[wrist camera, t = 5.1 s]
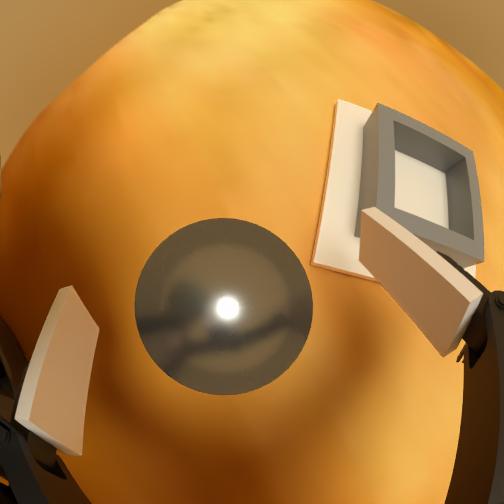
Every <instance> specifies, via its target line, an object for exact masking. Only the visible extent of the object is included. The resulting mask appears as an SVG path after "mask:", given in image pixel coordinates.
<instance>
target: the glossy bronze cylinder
mask: <svg viewBox="0 0 504 504" xmlns="http://www.w3.org/2000/svg"><path fill="white" fill-rule="evenodd" d="M312 315H313V301H312V292H311V288H310V284H309V280H308V278H307V275H306V272H305V270H304V268H303V266H302V264H301V262H300V261H299V259H298V258H297V256H296V255H295V254H294V252H293V251H292V250H291V249H290V248H289V247H288V246H287V244H286V243H285V242H283V241H282V240H281V239H280V238H279V237H277V236H276V235H275V234H273V233H271V232H270V231H268V230H267V229H265V228H263V227H260V226H258V225H256V224H253V223H250V222H247V221H243V220H238V219H229V218H218V219H208V220H203V221H199V222H196V223H193V224H190V225H188V226H186V227H184V228H182V229H180V230H178V231H176V232H175V233H173V234H172V235H170V236H169V237H168V238H167V239H165V240H164V241H163V242H162V243H161V244H160V245H159V246H158V247H157V248H156V249H155V251H154V252H153V253H152V255H151V256H150V257H149V259H148V260H147V262H146V264H145V266H144V268H143V270H142V272H141V275H140V278H139V281H138V284H137V289H136V295H135V317H136V323H137V328H138V331H139V334H140V337H141V340H142V342H143V344H144V346H145V348H146V350H147V352H148V353H149V355H150V356H151V358H152V359H153V360H154V362H155V363H156V364H157V365H158V366H159V367H160V368H161V369H162V370H163V371H164V372H165V373H166V374H167V375H168V376H170V377H171V378H173V379H174V380H175V381H177V382H179V383H180V384H182V385H184V386H186V387H188V388H191V389H194V390H196V391H199V392H203V393H208V394H215V395H236V394H241V393H246V392H249V391H252V390H255V389H258V388H260V387H263V386H265V385H267V384H269V383H270V382H272V381H273V380H275V379H276V378H278V377H279V376H280V375H281V374H282V373H284V372H285V371H286V370H287V369H288V368H289V367H290V366H291V364H292V363H293V362H294V361H295V360H296V358H297V357H298V355H299V354H300V352H301V350H302V349H303V347H304V344H305V342H306V340H307V337H308V334H309V331H310V328H311V322H312Z"/></svg>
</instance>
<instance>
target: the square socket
mask: <svg viewBox="0 0 504 504" xmlns="http://www.w3.org/2000/svg"><path fill="white" fill-rule="evenodd" d="M372 207H376V208H377V209H379V210H380V211H381V212H383V213H384V214H386V215H387V216H389V217H390V218H391V219H393V220H394V221H396V222H397V223H398V224H400V225H401V226H403V227H404V228H405V229H407V230H408V231H409V232H411V233H412V234H413V235H415V236H416V237H417V238H418V239H420V240H421V241H422V242H424V243H425V244H426V245H428V246H429V247H430V248H431V249H433V250H434V251H435V252H436V251H439V252H441V253H443V254H445V255H447V256H449V257H450V258H452V259H453V260H454V261H455V262H456V263H458V265H460V266H461V267H462V268H464V270H465V271H467V272H468V273H469V274H471V275H472V276H473V277H474V278H475V271H476V264H479V263H482V262H484V232H483V217H482V207H481V198H480V190H479V183H478V176H477V171H476V165H475V160H474V155H473V151H471V150H469V149H468V148H466V147H465V146H463V145H461V144H460V143H458V142H456V141H455V140H453V139H451V138H449V137H448V136H446V135H444V134H442V133H441V132H439V131H437V130H435V129H433V128H431V127H429V126H427V125H425V124H423V123H421V122H419V121H417V120H415V119H413V118H411V117H409V116H407V115H405V114H403V113H400V112H398V111H396V110H394V109H391V108H389V107H387V106H384V105H382V104H379V103H377V105H376V107H375V108H374V110H373V111H371V110H368V109H366V108H363V107H360V106H358V105H355V104H352V103H349V102H346V101H343V100H340V99H338V100H337V103H336V105H335V114H334V123H333V131H332V139H331V146H330V154H329V161H328V168H327V174H326V181H325V187H324V193H323V199H322V205H321V211H320V217H319V223H318V228H317V233H316V239H315V244H314V249H313V254H312V259H311V264H310V265H313V266H317V267H321V268H325V269H329V270H332V271H336V272H340V273H344V274H348V275H352V276H356V277H359V278H363V279H367V280H371V281H375V282H378V281H377V280H376V279H375V278H374V276H373V275H372V274H371V273H370V272H369V271H368V270H367V269H366V268H365V267H364V266H363V265H362V264H361V263H360V262H359V248H360V229H361V210H363V209H367V208H372Z"/></svg>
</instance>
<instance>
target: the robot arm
mask: <svg viewBox="0 0 504 504" xmlns="http://www.w3.org/2000/svg"><path fill="white" fill-rule="evenodd" d="M0 196H1V157H0ZM359 262H360V263H361V264H362V265H363V266H364V267H365V268H366V269H367V270H368V271H369V272H370V273H371V274H372V275H373V276H374V278H375V279H376V280H377V281H378V282H379V283H380V284H381V285H382V286H383V287H384V289H385V290H386V291H387V292H388V293H389V294H390V295H391V296H392V297H393V299H394V300H395V301H396V302H397V303H398V304H399V305H400V307H401V308H402V309H403V310H404V311H405V312H406V313H407V315H408V316H409V317H410V318H411V319H412V320H413V322H414V323H415V324H416V325H417V326H418V328H419V329H420V330H421V331H422V332H423V334H424V335H425V336H426V337H427V339H428V340H429V341H430V342H431V343H432V345H433V346H434V347H435V348H436V350H437V351H438V352H439V354H440V355H441V356H442V357H445V356H446V355H448V354H449V353H451V352H452V351H454V350H455V349H456V348H457V346H458V345H459V343H460V341H461V339H462V338H463V340H464V341H465V342H466V343H465V345H464V347H463V349H462V350H461V352H460V354H459V355H458V357H457V361H456V362H459V361H460V359H461V358H462V356H463V355H464V359H463V361H462V363H464V388H463V405H462V417H461V426H460V434H459V441H458V448H457V453H456V459H455V464H454V469H453V473H452V478H451V482H450V486H449V490H448V493H447V497H446V500H445V504H504V292H503V291H494V292H492V293H491V292H490V291H488V290H487V289H486V288H485V287H484V286H483V285H482V284H481V283H480V282H478V281H477V280H476V279H475V278H474V277H473V276H472V275H471V274H469V273H468V272H467V271H465V270H464V268H462V267H461V266H460V265H458V263H456V262H455V261H454V260H453V259H452V258H450V257H449V256H447V255H445V254H443V253H441V252H439V251H436V252H435V251H434V250H433V249H431V248H430V247H429V246H428V245H426V244H425V243H424V242H422V241H421V240H420V239H418V238H417V237H416V236H415V235H413V234H412V233H411V232H409V231H408V230H407V229H405V228H404V227H403V226H401V225H400V224H398V223H397V222H396V221H394V220H393V219H391V218H390V217H389V216H387V215H386V214H384V213H383V212H381V211H380V210H379V209H377V208H376V207H372V208H367V209H363V210H361V229H360V248H359ZM99 330H100V329H99V327H98V326H97V324H96V323H95V321H94V320H93V318H92V317H91V315H90V314H89V312H88V310H87V309H86V307H85V306H84V304H83V302H82V301H81V299H80V297H79V296H78V294H77V292H76V291H75V289H74V287H73V286H72V285H71V286H67V287H64V288H60V289H59V291H58V293H57V296H56V298H55V300H54V302H53V304H52V307H51V309H50V311H49V313H48V316H47V318H46V321H45V323H44V325H43V328H42V330H41V333H40V336H39V338H38V341H37V343H36V346H35V349H34V352H33V355H32V358H31V359H30V361H29V362H28V364H27V362H26V360H25V358H24V355H23V353H22V351H21V349H20V347H19V345H18V343H17V341H16V339H15V338H14V336H13V334H12V333H11V331H10V329H9V328H8V326H7V325H6V324H5V322H4V321H3V320H2V319H1V318H0V477H2V478H4V479H6V480H8V482H9V486H6V485H4V484H2V483H0V504H91V503H90V501H89V500H88V498H87V497H86V496H85V494H84V493H83V492H82V490H81V489H80V487H79V486H78V484H77V483H76V481H75V480H74V478H73V477H72V475H71V474H70V472H69V470H68V469H67V467H66V466H65V464H64V462H63V461H62V459H61V458H60V457H59V456H58V455H56V449H58V450H60V451H61V452H63V453H65V454H67V455H76V456H82V445H83V431H84V420H85V411H86V403H87V395H88V388H89V382H90V375H91V370H92V364H93V359H94V353H95V348H96V344H97V339H98V334H99Z"/></svg>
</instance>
